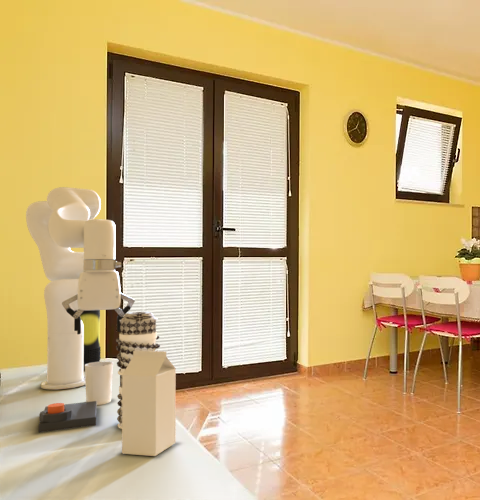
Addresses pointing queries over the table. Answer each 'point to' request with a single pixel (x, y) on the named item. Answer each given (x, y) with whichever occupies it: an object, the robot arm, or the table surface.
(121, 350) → the decorative candle
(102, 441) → the table surface
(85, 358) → the container
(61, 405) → the tare button
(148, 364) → the milk carton
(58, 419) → the scale
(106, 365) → the white cup
